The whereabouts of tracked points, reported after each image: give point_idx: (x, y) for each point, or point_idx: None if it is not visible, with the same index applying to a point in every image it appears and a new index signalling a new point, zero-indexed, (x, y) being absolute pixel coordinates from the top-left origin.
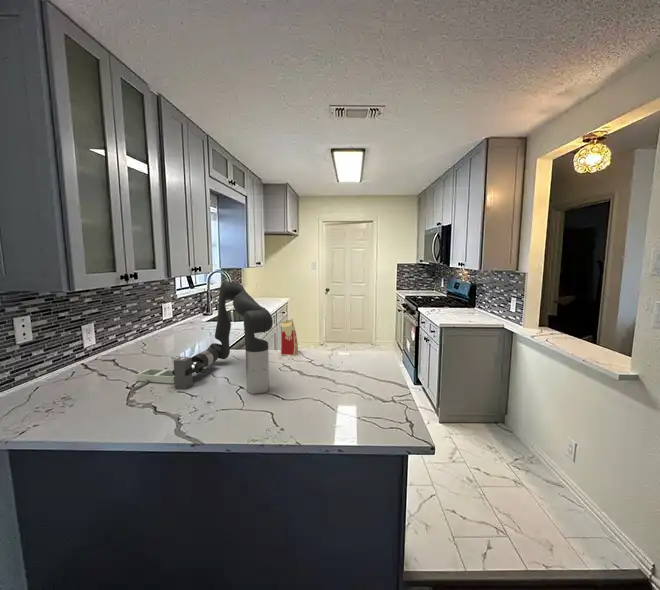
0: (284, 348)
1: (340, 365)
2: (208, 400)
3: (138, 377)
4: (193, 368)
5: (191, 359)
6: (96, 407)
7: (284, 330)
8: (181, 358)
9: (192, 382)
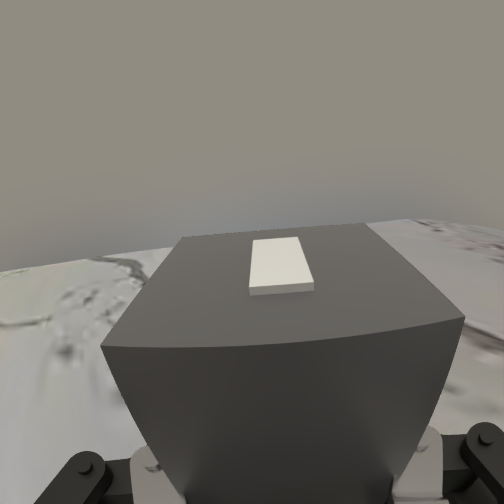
0: None
1: None
2: (68, 363)
3: None
4: (136, 455)
5: (121, 391)
6: (441, 269)
7: None
8: (322, 268)
9: None
